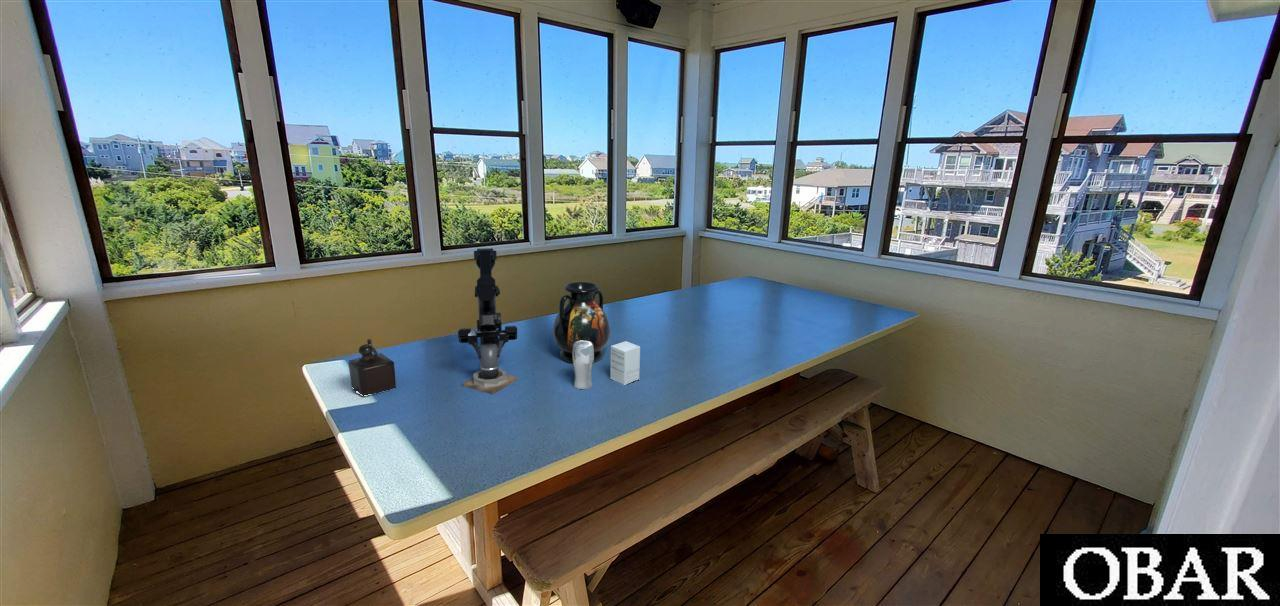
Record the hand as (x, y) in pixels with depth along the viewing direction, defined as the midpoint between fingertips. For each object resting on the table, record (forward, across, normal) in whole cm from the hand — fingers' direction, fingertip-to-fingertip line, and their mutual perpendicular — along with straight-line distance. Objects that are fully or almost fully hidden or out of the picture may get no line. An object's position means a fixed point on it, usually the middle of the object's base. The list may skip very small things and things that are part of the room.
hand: (489, 357), depth 167 cm
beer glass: (+12, +30, +2) cm, 32 cm away
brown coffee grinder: (+5, -35, +9) cm, 36 cm away
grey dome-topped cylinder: (+4, 0, +6) cm, 7 cm away
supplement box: (+11, +44, +3) cm, 46 cm away
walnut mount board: (+6, 0, +8) cm, 9 cm away
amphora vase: (-6, +34, +20) cm, 39 cm away
